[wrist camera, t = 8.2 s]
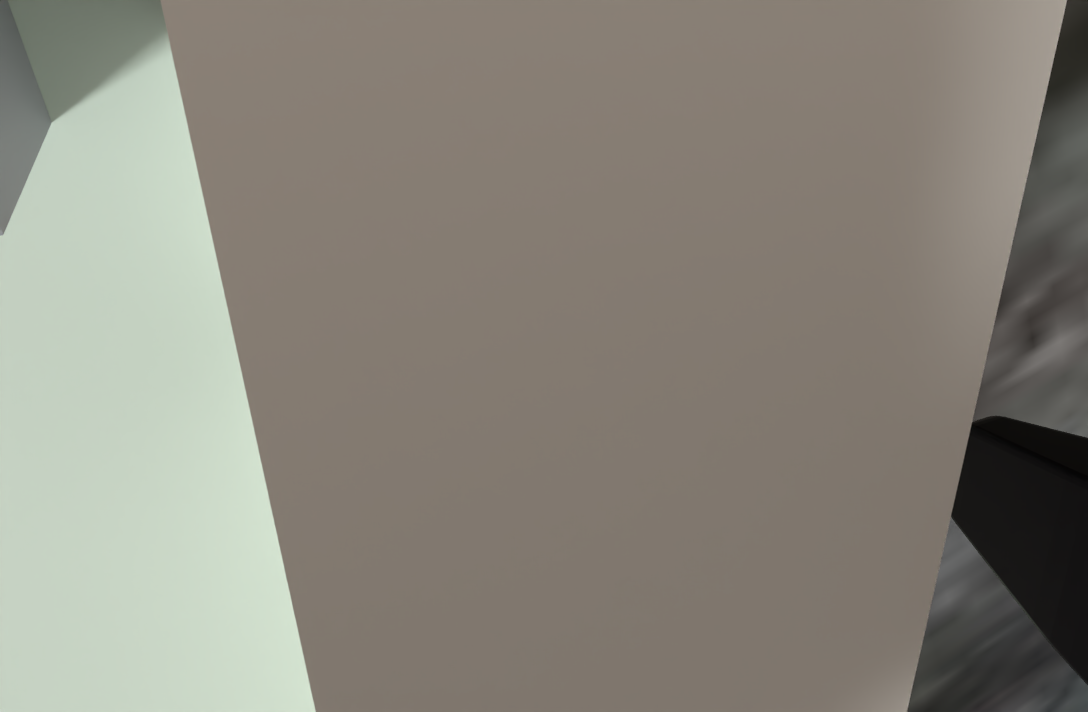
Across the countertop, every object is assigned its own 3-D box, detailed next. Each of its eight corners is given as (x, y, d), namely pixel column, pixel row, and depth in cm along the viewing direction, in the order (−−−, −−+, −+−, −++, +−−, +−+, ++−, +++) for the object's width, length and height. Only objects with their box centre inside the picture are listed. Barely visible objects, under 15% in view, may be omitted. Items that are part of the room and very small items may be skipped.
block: (575, 806, 15) (781, 1270, 10) (363, 883, 14) (474, 1440, 9) (542, -472, 7) (1332, -1177, 2) (70, -508, 6) (-243, -1847, 1)
